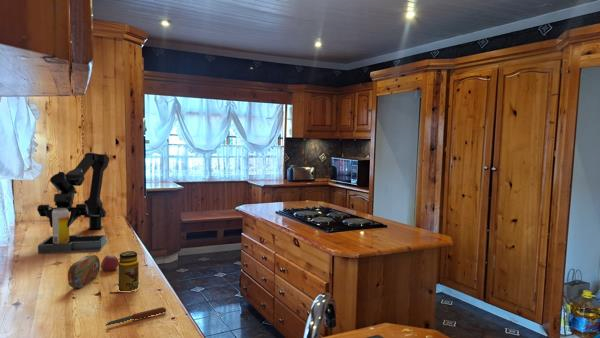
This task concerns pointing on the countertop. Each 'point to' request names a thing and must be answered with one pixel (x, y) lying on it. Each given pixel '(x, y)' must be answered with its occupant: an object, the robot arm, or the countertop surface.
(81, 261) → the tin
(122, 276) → the condiment
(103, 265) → the fruit
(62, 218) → the beer can
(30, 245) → the countertop surface
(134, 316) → the kitchen knife
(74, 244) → the keyhole plate
